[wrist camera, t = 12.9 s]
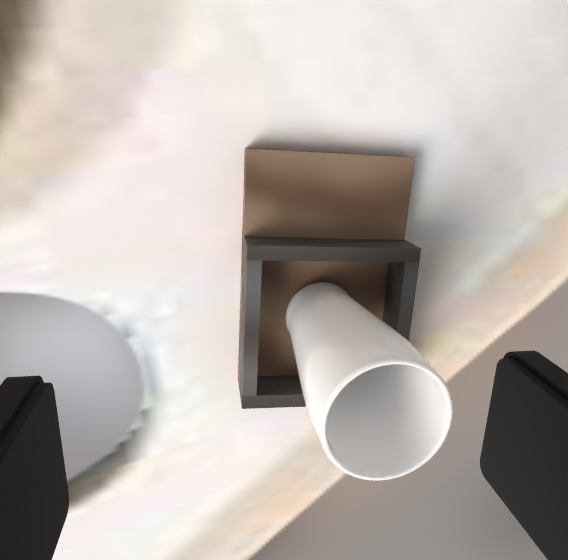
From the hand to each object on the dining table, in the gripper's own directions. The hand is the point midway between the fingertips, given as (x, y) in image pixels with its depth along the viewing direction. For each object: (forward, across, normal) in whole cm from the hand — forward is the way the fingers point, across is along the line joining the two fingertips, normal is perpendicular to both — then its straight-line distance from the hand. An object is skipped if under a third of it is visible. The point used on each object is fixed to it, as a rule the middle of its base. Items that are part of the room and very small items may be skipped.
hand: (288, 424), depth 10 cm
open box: (+27, -7, +5) cm, 28 cm away
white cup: (+26, -7, +8) cm, 28 cm away
